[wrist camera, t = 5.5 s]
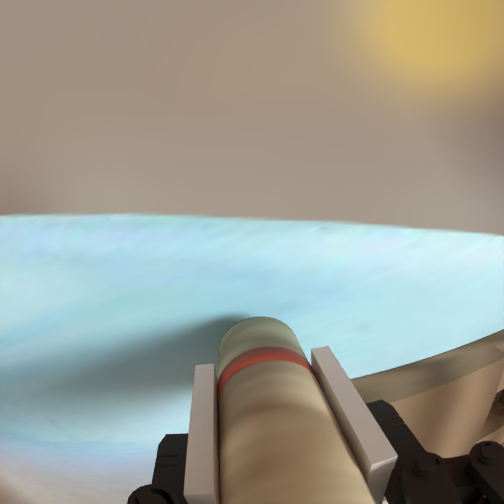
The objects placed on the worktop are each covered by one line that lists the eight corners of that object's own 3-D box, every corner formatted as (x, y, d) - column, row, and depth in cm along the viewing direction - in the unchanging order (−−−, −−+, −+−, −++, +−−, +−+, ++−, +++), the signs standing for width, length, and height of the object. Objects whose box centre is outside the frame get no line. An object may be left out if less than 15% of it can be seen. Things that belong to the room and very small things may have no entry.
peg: (224, 390, 16) (246, 663, 2) (211, 322, 15) (210, 664, 1) (301, 378, 16) (404, 628, 2) (296, 310, 15) (463, 600, 1)
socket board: (314, 491, 20) (322, 518, 17) (317, 386, 18) (331, 418, 15) (509, 413, 22) (524, 427, 19) (541, 311, 19) (563, 323, 16)
